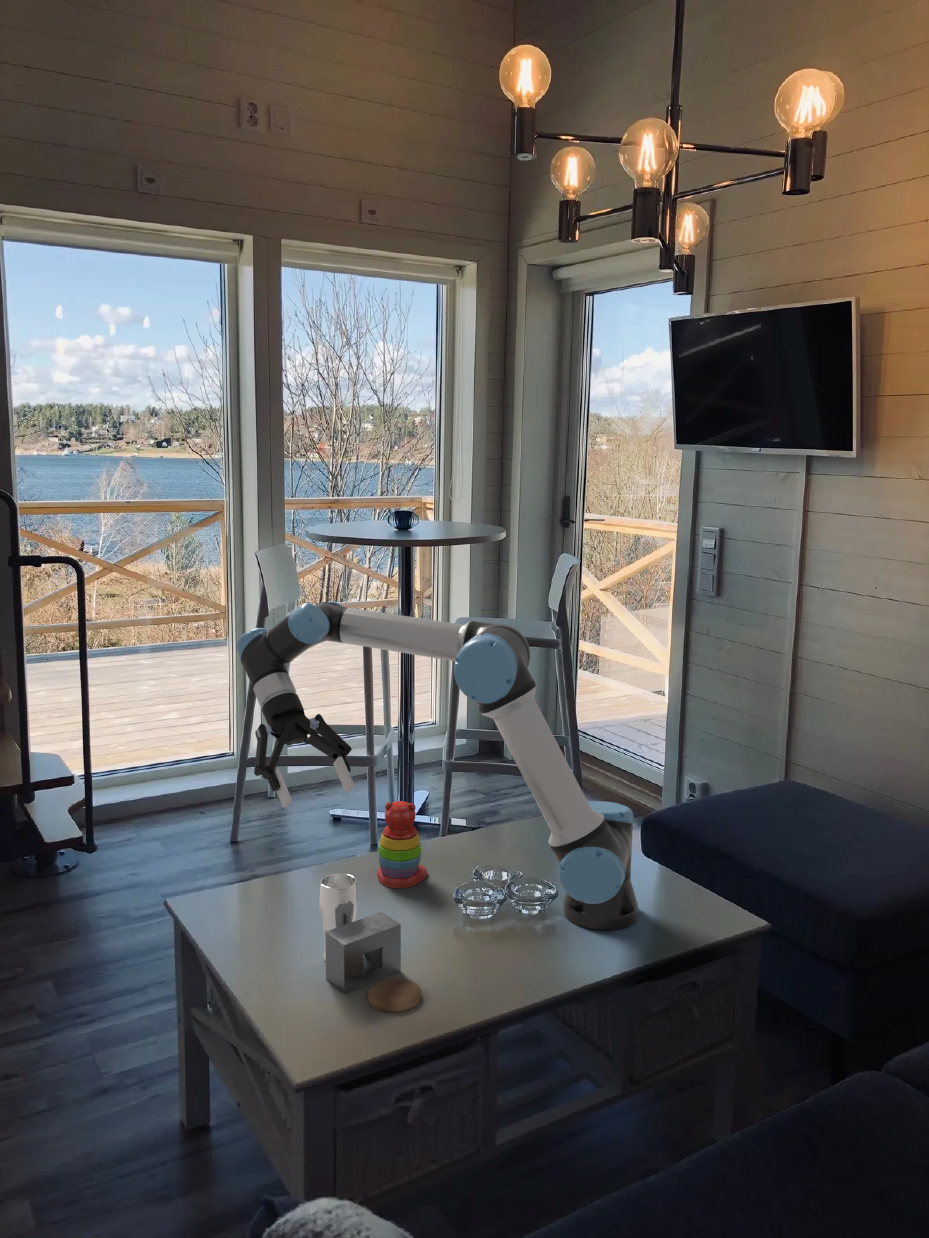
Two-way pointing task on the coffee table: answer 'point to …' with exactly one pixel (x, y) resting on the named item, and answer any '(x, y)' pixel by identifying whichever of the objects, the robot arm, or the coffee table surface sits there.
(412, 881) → the stacking bear
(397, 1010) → the walnut coaster
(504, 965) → the coffee table surface
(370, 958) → the grey block with hole
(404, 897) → the coffee table surface
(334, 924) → the beer glass
